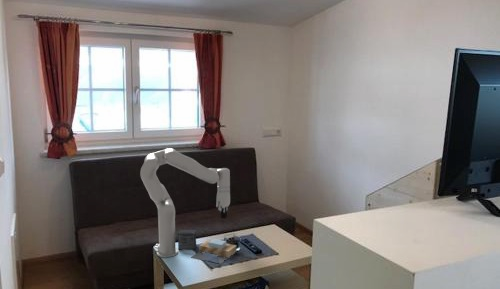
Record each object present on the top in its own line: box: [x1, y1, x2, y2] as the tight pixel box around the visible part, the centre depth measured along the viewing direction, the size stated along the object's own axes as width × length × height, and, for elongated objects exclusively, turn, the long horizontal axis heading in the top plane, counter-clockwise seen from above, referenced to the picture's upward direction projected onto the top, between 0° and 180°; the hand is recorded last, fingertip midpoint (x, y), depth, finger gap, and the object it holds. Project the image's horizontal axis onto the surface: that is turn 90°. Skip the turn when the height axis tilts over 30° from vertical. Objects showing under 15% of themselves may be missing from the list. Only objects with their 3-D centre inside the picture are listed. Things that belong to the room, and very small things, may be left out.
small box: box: [177, 229, 197, 251], centre depth 240 cm, size 11×6×10 cm, turn 92°
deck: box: [198, 239, 237, 259], centre depth 235 cm, size 20×10×4 cm, turn 65°
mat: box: [190, 250, 229, 265], centre depth 227 cm, size 20×9×1 cm, turn 65°
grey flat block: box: [208, 238, 227, 249], centre depth 234 cm, size 9×6×2 cm, turn 65°
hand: (223, 217), depth 239 cm, fingers closed
